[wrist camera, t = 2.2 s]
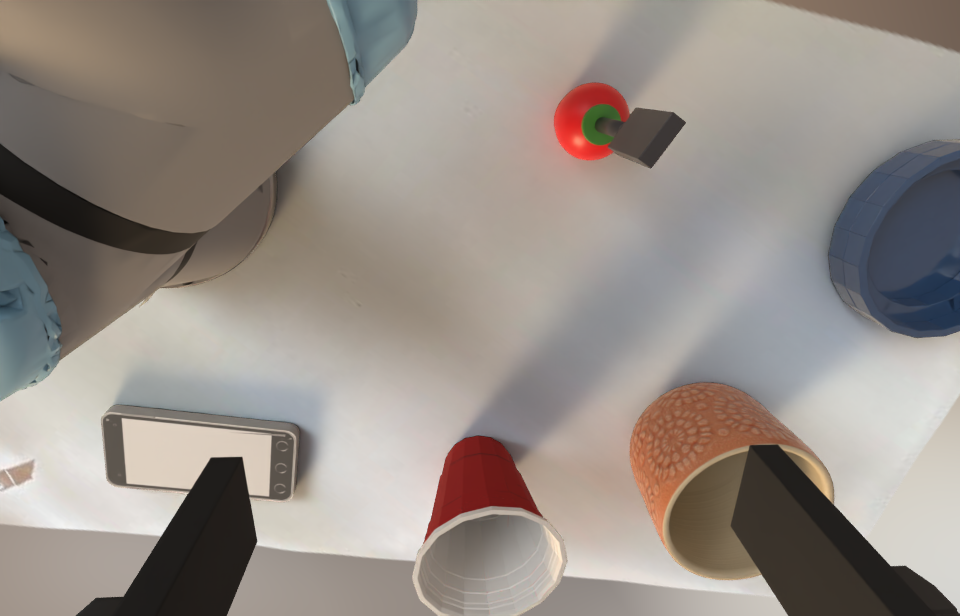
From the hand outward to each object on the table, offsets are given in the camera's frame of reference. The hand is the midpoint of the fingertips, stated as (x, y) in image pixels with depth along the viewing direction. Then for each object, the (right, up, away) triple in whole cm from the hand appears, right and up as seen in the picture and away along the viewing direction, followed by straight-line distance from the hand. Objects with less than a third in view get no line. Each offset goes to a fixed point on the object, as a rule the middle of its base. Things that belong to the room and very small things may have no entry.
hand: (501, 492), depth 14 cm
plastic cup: (-1, -9, +34) cm, 36 cm away
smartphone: (-24, -7, +32) cm, 40 cm away
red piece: (+7, +18, +24) cm, 30 cm away
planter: (+17, -6, +34) cm, 39 cm away
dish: (+33, +11, +29) cm, 45 cm away
